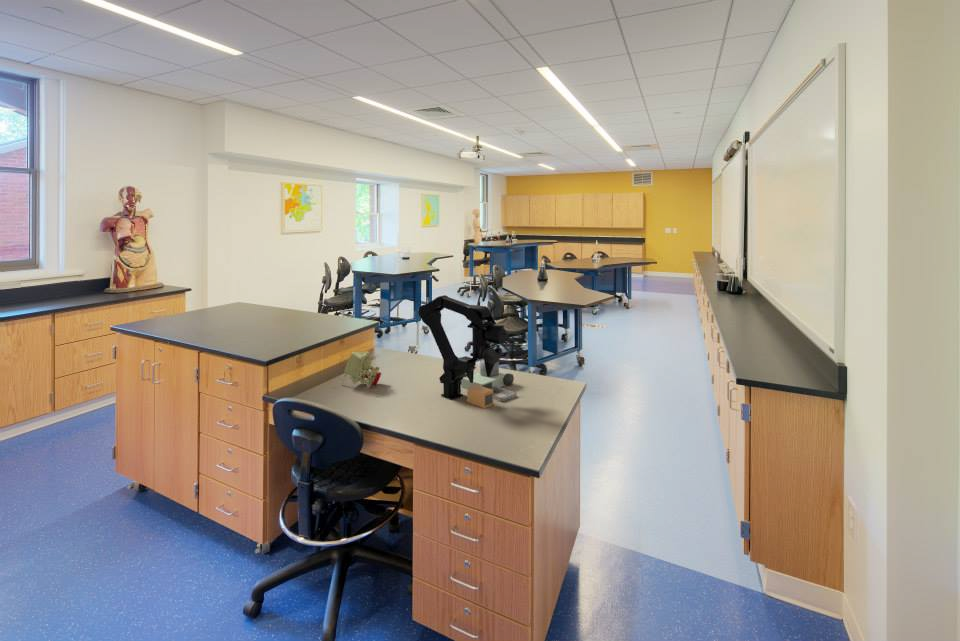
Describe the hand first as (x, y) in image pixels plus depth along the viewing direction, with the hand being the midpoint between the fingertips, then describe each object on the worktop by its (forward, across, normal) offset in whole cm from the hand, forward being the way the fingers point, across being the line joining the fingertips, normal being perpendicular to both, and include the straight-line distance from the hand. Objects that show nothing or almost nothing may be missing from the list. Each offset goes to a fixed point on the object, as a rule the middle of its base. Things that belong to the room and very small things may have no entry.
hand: (480, 379), depth 187 cm
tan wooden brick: (+10, 0, 0) cm, 10 cm away
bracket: (+9, +11, +1) cm, 15 cm away
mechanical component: (+10, -18, +50) cm, 54 cm away
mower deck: (+10, +17, +13) cm, 23 cm away
